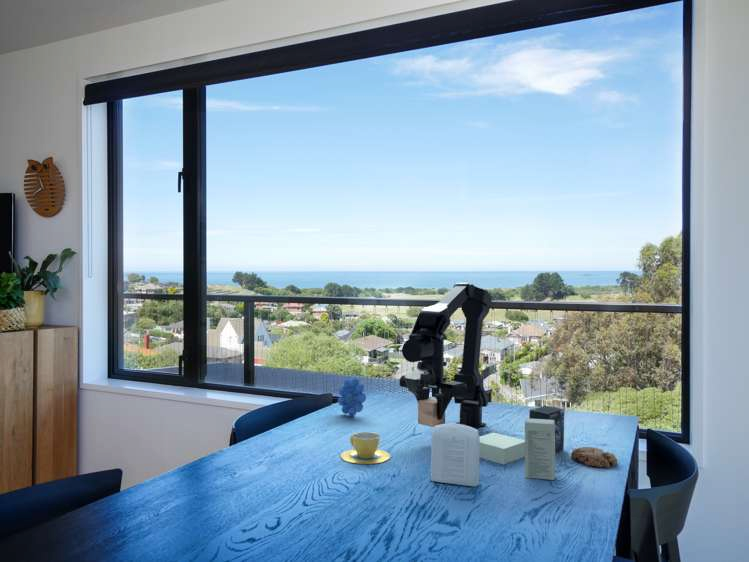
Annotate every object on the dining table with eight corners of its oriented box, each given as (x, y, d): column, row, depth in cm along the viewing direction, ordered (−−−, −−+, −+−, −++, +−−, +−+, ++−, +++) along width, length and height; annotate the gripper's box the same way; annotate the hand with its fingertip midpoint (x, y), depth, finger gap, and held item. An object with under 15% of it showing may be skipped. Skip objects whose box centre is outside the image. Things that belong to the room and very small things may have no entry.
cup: (400, 457, 145) (401, 435, 145) (366, 469, 136) (366, 445, 136) (364, 447, 153) (364, 426, 153) (330, 457, 144) (330, 435, 144)
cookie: (577, 453, 150) (578, 441, 150) (622, 461, 144) (622, 449, 144) (564, 463, 142) (564, 450, 142) (611, 472, 136) (611, 459, 135)
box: (548, 456, 146) (548, 413, 146) (527, 451, 150) (528, 409, 150) (564, 450, 151) (565, 408, 151) (544, 445, 155) (545, 404, 155)
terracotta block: (430, 420, 160) (430, 397, 160) (445, 423, 157) (445, 401, 157) (417, 423, 157) (418, 400, 157) (432, 427, 153) (432, 403, 153)
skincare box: (555, 474, 133) (556, 419, 133) (554, 481, 129) (555, 424, 128) (525, 471, 135) (526, 417, 135) (523, 477, 131) (524, 421, 131)
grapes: (375, 417, 183) (375, 378, 183) (359, 421, 179) (359, 380, 178) (349, 410, 192) (349, 373, 191) (333, 414, 187) (333, 375, 187)
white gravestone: (480, 481, 128) (481, 423, 128) (477, 488, 124) (478, 428, 123) (432, 476, 131) (433, 419, 131) (428, 482, 127) (429, 424, 127)
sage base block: (493, 448, 154) (493, 432, 154) (527, 457, 147) (527, 440, 146) (469, 456, 147) (469, 439, 147) (503, 465, 140) (504, 448, 140)
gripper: (385, 356, 158) (384, 416, 158) (439, 365, 144) (439, 430, 145) (414, 353, 165) (413, 409, 166) (468, 361, 152) (467, 422, 152)
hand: (431, 417), depth 157 cm, fingers closed on terracotta block, 5 cm apart
